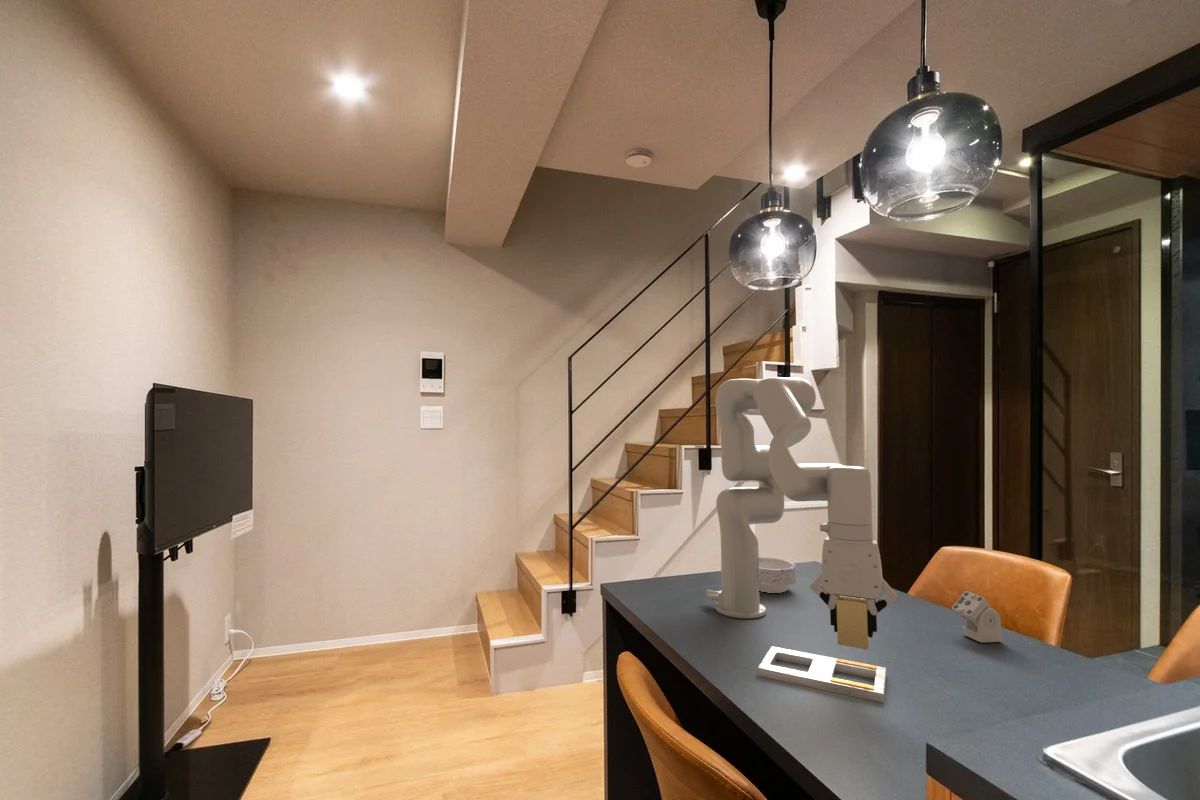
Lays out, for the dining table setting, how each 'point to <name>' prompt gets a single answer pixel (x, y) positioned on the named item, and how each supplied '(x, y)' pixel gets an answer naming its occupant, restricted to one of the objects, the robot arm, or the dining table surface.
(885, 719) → the dining table surface
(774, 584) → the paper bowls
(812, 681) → the white flat frame
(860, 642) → the brass block
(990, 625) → the mechanical component
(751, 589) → the robot arm
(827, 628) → the dining table surface
